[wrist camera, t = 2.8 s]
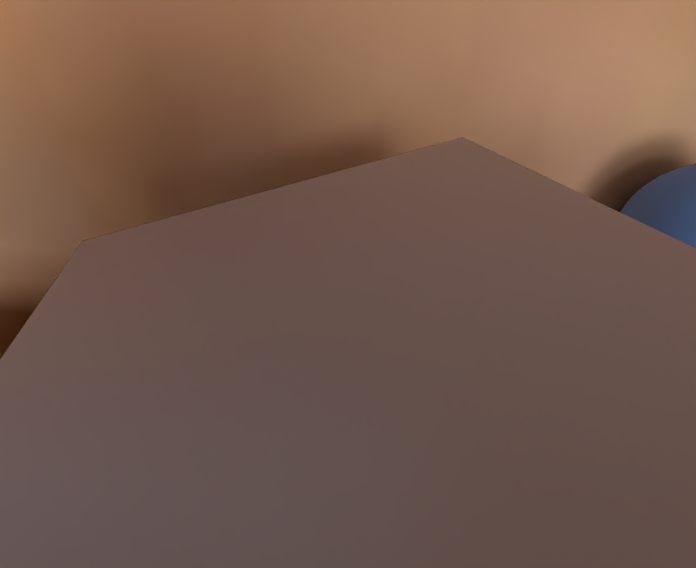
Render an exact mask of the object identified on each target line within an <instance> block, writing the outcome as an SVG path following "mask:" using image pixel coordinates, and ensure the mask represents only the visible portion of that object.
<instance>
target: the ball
mask: <svg viewBox="0 0 696 568" xmlns="http://www.w3.org/2000/svg"><path fill="white" fill-rule="evenodd" d="M620 213H622V214H624V215H627V216H629V217H631V218H633V219H635V220H637V221H639V222H641V223H643V224H645V225H648V226H650V227H652V228H654V229H656V230H658V231H660V232H662V233H664V234H667V235H669V236H671V237H673V238H675V239H677V240H679V241H681V242H683V243H685V244H688V245H690V246H692V247H694V248H696V164H693V165H689V166H685V167H681V168H677V169H675V170H672V171H669V172H667V173H665V174H663V175H661V176H659V177H657V178H655V179H653V180H652V181H650V182H649V183H647V184H646V185H645V186H643V187H642V188H641V189H639V190H638V191H637V192H636V193H635V194H634V195H633V196H632V197H631V198H630V199H629V200H628V202H627V203H626V204H625V205H624V207H623V208H622V210H621V211H620Z"/></svg>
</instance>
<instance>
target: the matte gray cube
mask: <svg viewBox="0 0 696 568" xmlns="http://www.w3.org/2000/svg"><path fill="white" fill-rule="evenodd" d="M0 568H696V248H694V247H692V246H690V245H688V244H685V243H683V242H681V241H679V240H677V239H675V238H673V237H671V236H669V235H667V234H664V233H662V232H660V231H658V230H656V229H654V228H652V227H650V226H648V225H645V224H643V223H641V222H639V221H637V220H635V219H633V218H631V217H629V216H627V215H624V214H622V213H620V212H618V211H616V210H614V209H612V208H610V207H608V206H606V205H603V204H601V203H599V202H597V201H595V200H593V199H591V198H589V197H587V196H584V195H582V194H580V193H578V192H576V191H574V190H572V189H570V188H568V187H566V186H563V185H561V184H559V183H557V182H555V181H553V180H551V179H549V178H547V177H545V176H542V175H540V174H538V173H536V172H534V171H532V170H530V169H528V168H526V167H523V166H521V165H519V164H517V163H515V162H513V161H511V160H509V159H507V158H505V157H502V156H500V155H498V154H496V153H494V152H492V151H490V150H488V149H486V148H484V147H481V146H479V145H477V144H475V143H473V142H471V141H469V140H467V139H465V138H458V139H454V140H451V141H447V142H443V143H440V144H436V145H432V146H429V147H425V148H421V149H418V150H414V151H410V152H407V153H403V154H399V155H396V156H392V157H388V158H385V159H381V160H377V161H374V162H370V163H366V164H363V165H359V166H355V167H352V168H348V169H344V170H341V171H337V172H333V173H330V174H326V175H322V176H319V177H315V178H311V179H308V180H304V181H300V182H297V183H293V184H289V185H286V186H282V187H278V188H275V189H271V190H267V191H264V192H260V193H256V194H253V195H249V196H245V197H242V198H238V199H234V200H231V201H227V202H223V203H220V204H216V205H213V206H209V207H205V208H202V209H198V210H194V211H191V212H187V213H183V214H180V215H176V216H172V217H169V218H165V219H161V220H158V221H154V222H150V223H147V224H143V225H139V226H136V227H132V228H128V229H125V230H121V231H117V232H114V233H110V234H106V235H103V236H99V237H95V238H92V239H88V240H84V241H82V243H81V244H80V245H79V247H78V248H77V250H76V251H75V253H74V254H73V255H72V257H71V258H70V260H69V261H68V263H67V264H66V266H65V267H64V268H63V270H62V271H61V273H60V274H59V276H58V277H57V279H56V280H55V281H54V283H53V284H52V286H51V287H50V289H49V290H48V291H47V293H46V294H45V296H44V297H43V299H42V300H41V302H40V303H39V304H38V306H37V307H36V309H35V310H34V312H33V313H32V314H31V316H30V317H29V319H28V320H27V322H26V323H25V325H24V326H23V327H22V329H21V330H20V332H19V333H18V335H17V336H16V338H15V339H14V340H13V342H12V343H11V345H10V346H9V348H8V349H7V350H6V352H5V353H4V355H3V356H2V358H1V359H0Z"/></svg>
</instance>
